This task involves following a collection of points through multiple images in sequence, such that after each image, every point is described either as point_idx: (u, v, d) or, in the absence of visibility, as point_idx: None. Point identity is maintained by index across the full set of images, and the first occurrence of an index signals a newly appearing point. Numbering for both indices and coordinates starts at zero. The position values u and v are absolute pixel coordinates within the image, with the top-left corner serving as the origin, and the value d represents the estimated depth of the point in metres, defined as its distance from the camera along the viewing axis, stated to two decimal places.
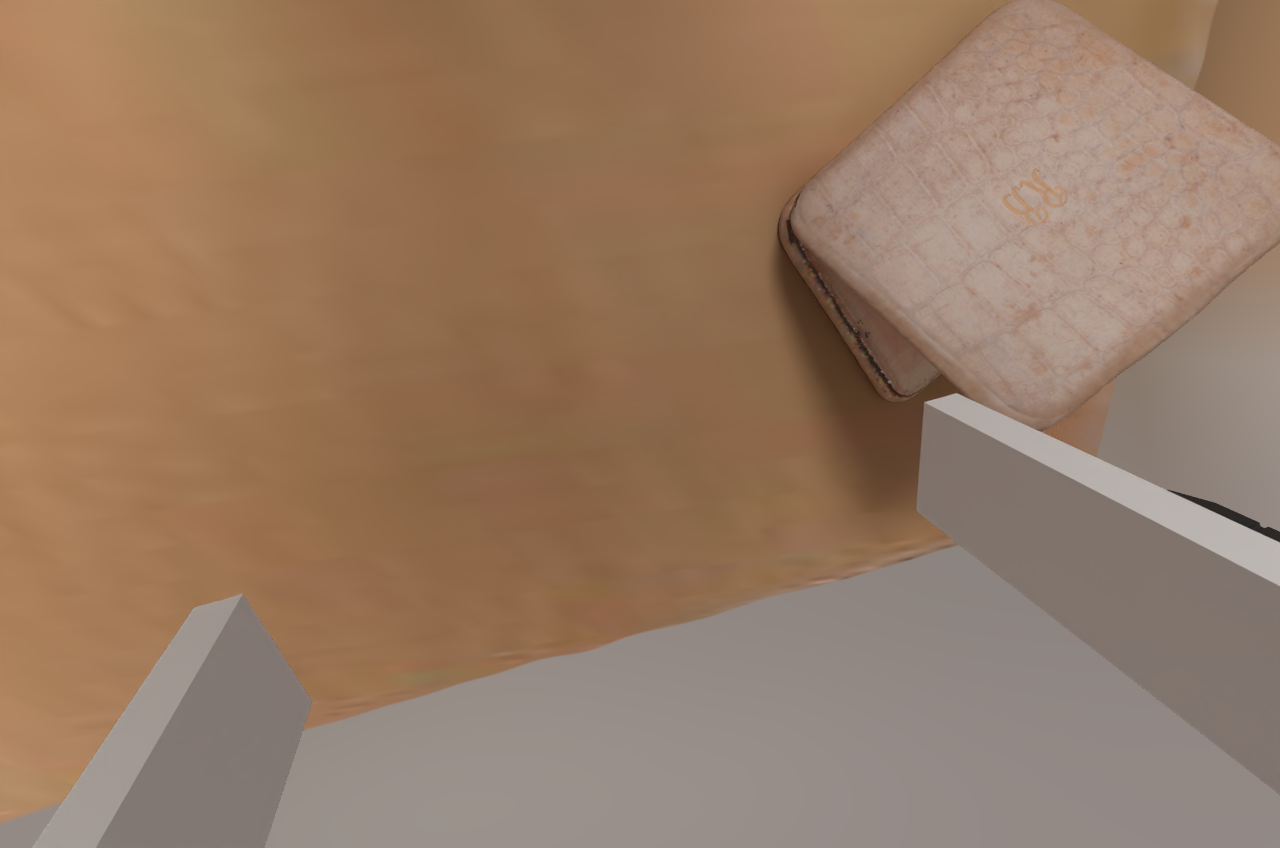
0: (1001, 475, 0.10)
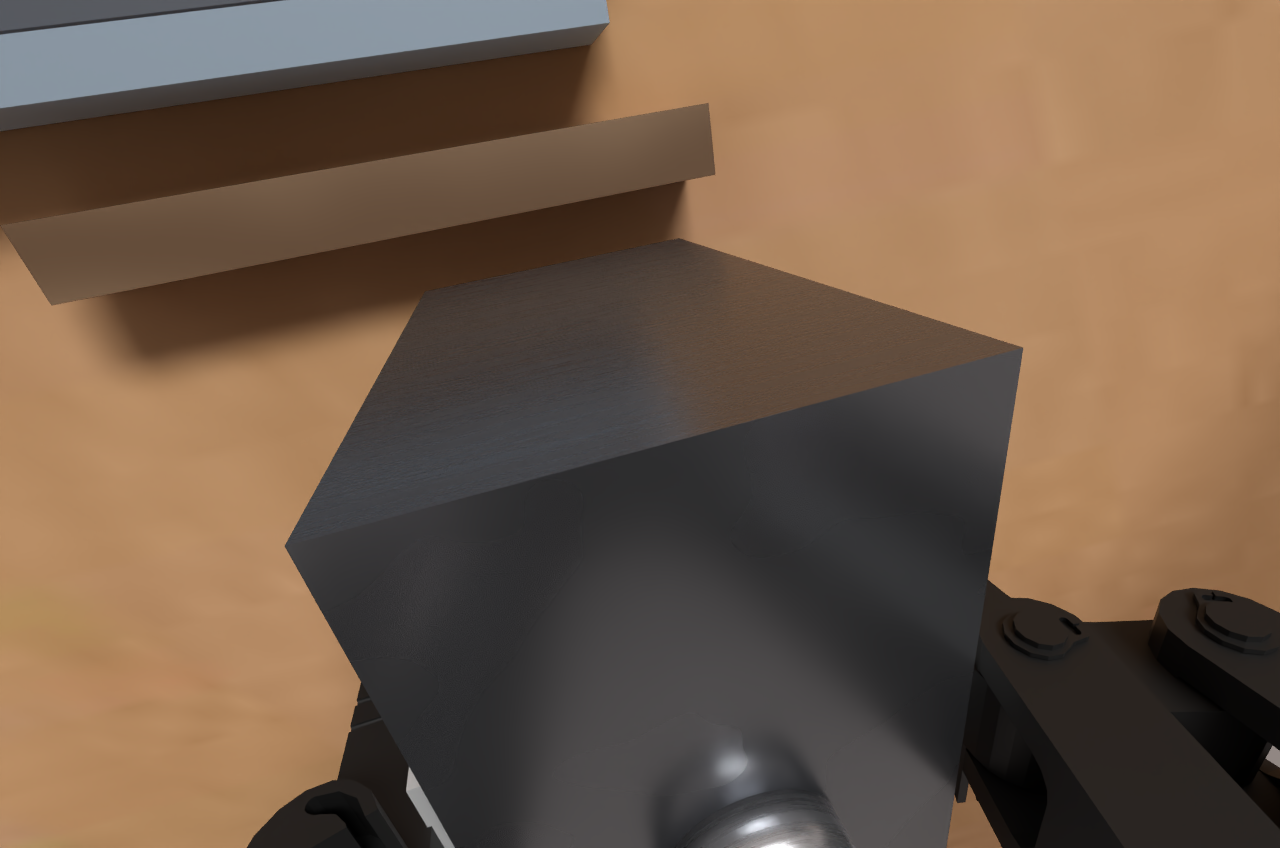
0: None
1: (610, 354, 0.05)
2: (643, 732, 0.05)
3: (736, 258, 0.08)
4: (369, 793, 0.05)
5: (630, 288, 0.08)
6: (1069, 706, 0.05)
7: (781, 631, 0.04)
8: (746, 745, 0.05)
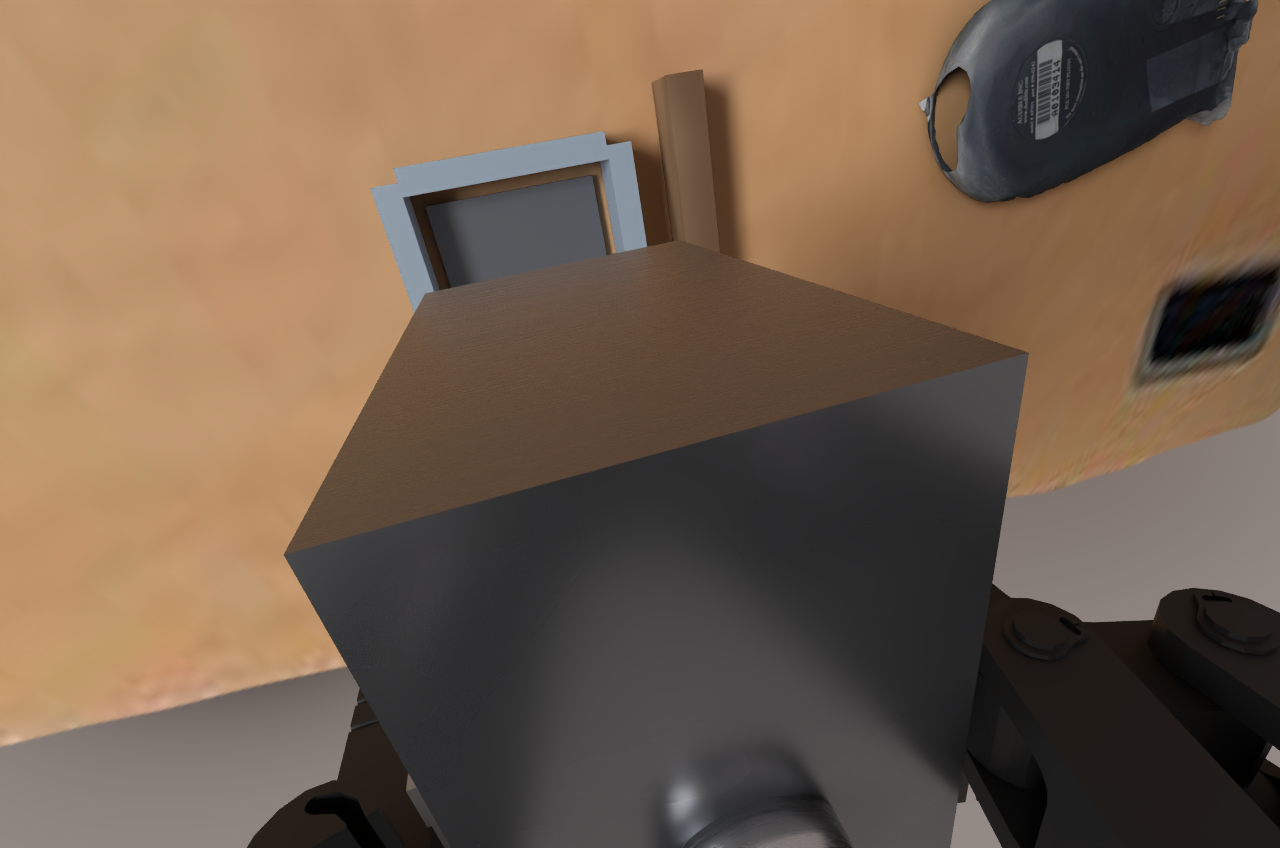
0: None
1: (611, 358, 0.05)
2: (644, 739, 0.05)
3: (737, 260, 0.08)
4: (369, 793, 0.05)
5: (631, 290, 0.08)
6: (1069, 706, 0.05)
7: (784, 638, 0.04)
8: (749, 752, 0.05)
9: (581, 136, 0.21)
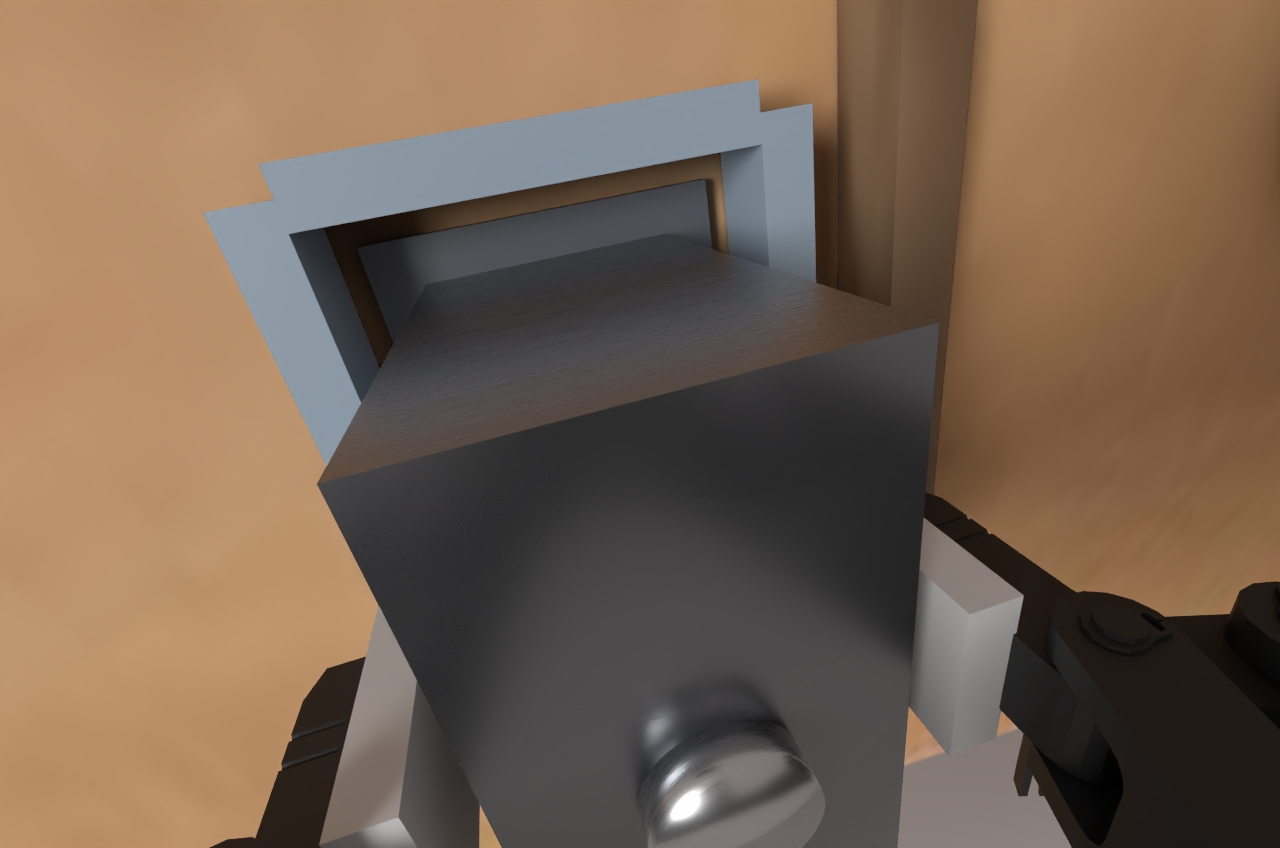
0: None
1: (593, 334, 0.06)
2: (621, 660, 0.05)
3: (714, 251, 0.09)
4: None
5: (615, 279, 0.08)
6: (1151, 699, 0.05)
7: (739, 571, 0.05)
8: (713, 676, 0.06)
9: (707, 91, 0.09)
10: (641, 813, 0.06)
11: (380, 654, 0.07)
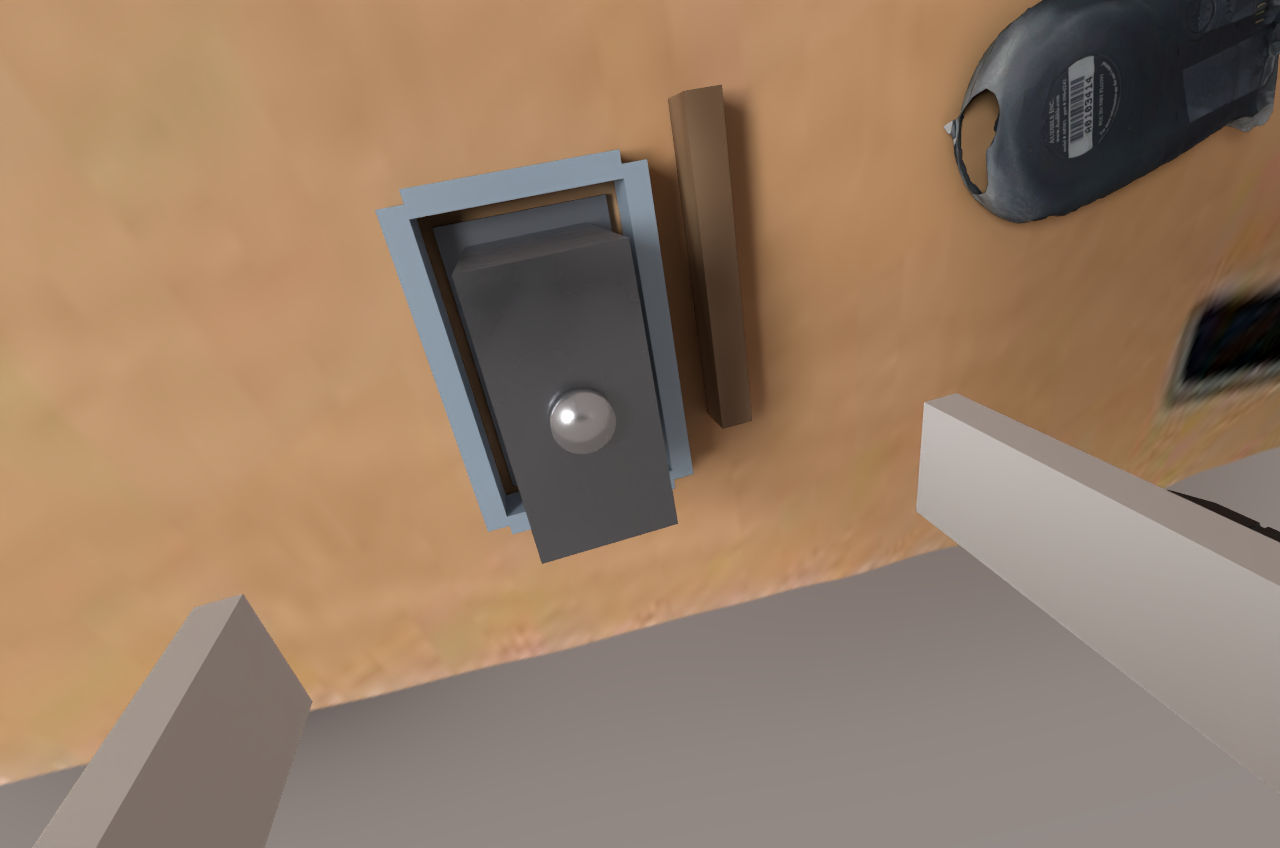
0: (1001, 475, 0.10)
1: (532, 249, 0.17)
2: (538, 350, 0.16)
3: (596, 226, 0.20)
4: None
5: (550, 237, 0.19)
6: None
7: (576, 320, 0.16)
8: (572, 364, 0.17)
9: (595, 154, 0.20)
10: (549, 420, 0.17)
11: None
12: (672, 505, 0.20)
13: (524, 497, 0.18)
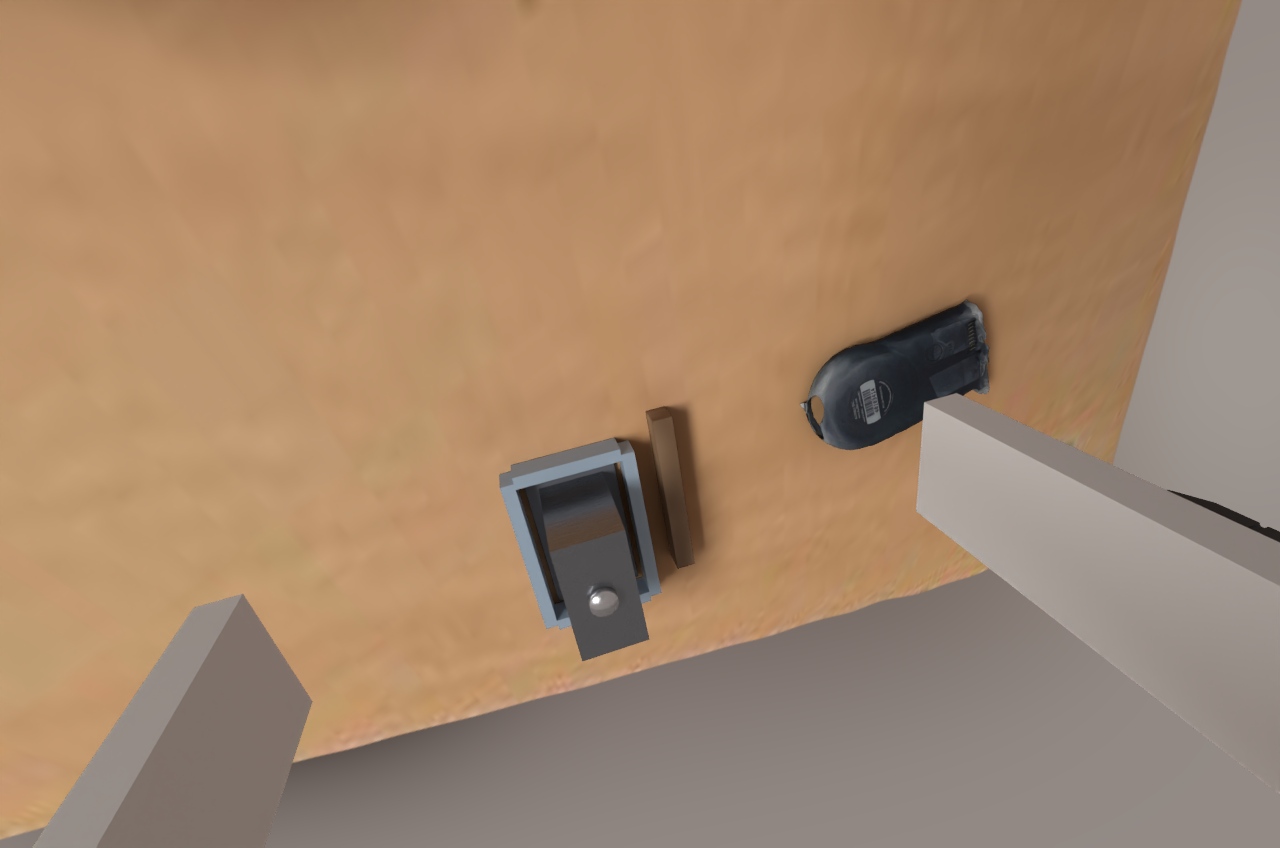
0: (1001, 475, 0.10)
1: (580, 524, 0.37)
2: (584, 575, 0.36)
3: (608, 491, 0.40)
4: None
5: (586, 500, 0.39)
6: None
7: (601, 562, 0.36)
8: (599, 578, 0.37)
9: (608, 452, 0.40)
10: (588, 602, 0.37)
11: None
12: (646, 631, 0.40)
13: (575, 633, 0.38)
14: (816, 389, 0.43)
